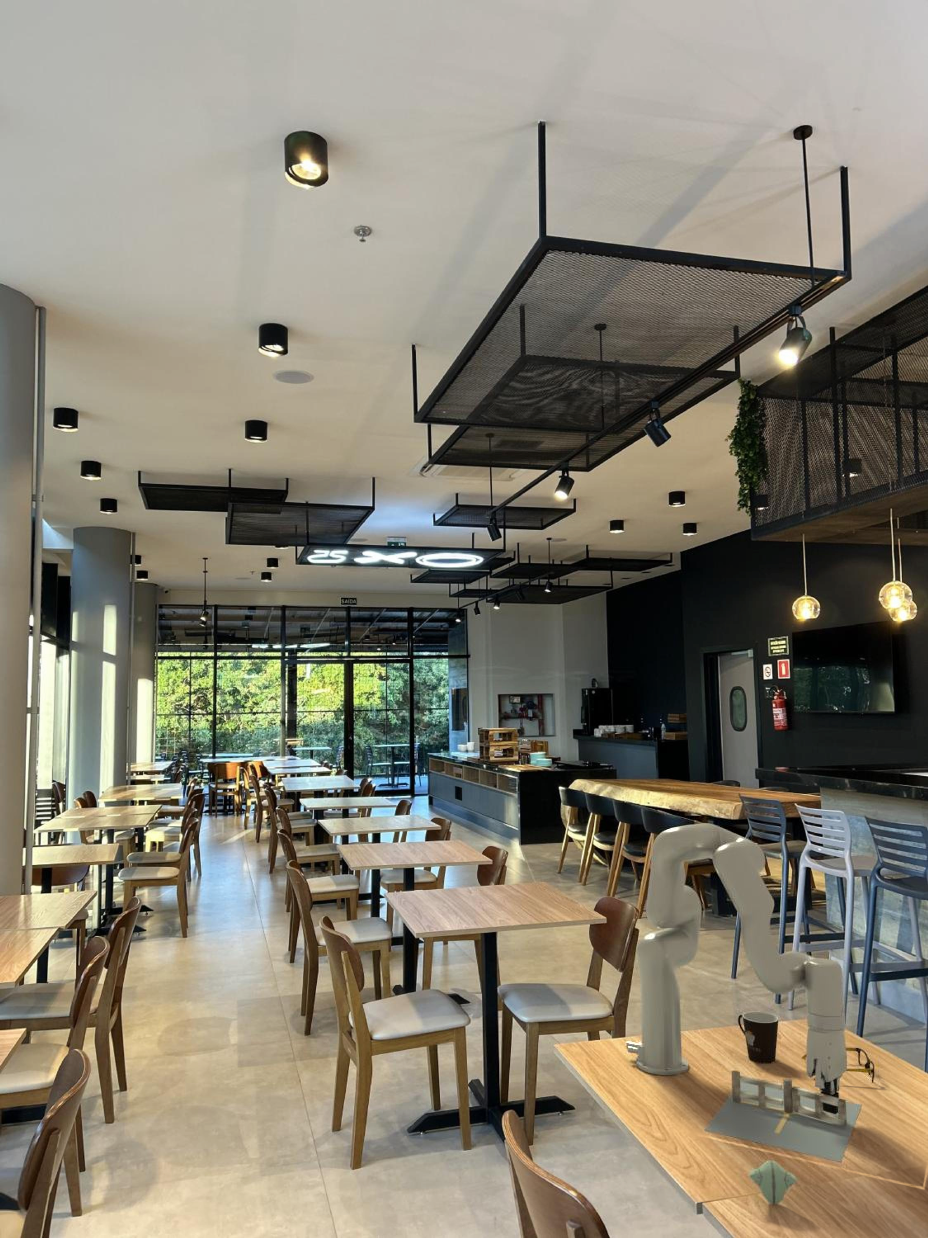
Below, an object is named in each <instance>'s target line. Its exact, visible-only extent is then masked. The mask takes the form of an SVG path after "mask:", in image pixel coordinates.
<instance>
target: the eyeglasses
mask: <svg viewBox="0 0 928 1238" xmlns="http://www.w3.org/2000/svg"><path fill="white" fill-rule="evenodd" d="M846 1052H857V1060H858V1065H860V1066H862V1063H861V1052H862V1053H863V1054H864V1055H865V1058H866V1062H865V1063H864V1068H847V1069H846V1071H845V1072H855V1073H865V1074H866V1073H867V1075H868V1076H869V1075H870V1076H871V1075H872V1076H871V1081H872V1082H871V1083H874V1079H875V1064H874V1062H873V1061H872V1060H871V1059H870V1058H869V1055H868V1054H867V1052H866V1051H865V1050H864V1049H862V1048H860V1047H849V1046H846ZM801 1059H805V1060H806V1053H805V1054H804V1055H803V1056H802V1057H801ZM871 1065H872V1068H871ZM813 1081H815V1077H814V1078H813Z"/></svg>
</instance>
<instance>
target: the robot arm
mask: <svg viewBox="0 0 928 1238" xmlns="http://www.w3.org/2000/svg"><path fill="white" fill-rule="evenodd" d="M650 859H651V862H650V873H649V881H648V889H647V897H646V909H645V910H646V912H645V913H646V917H647V920H648V922H649V923H650V924H651V925H652V926H654V927H655V928H657V929H659V930H657V931H653V932H650V933H647V934H646V935H644V936H643V937H641V939H640V940H639V941H638V943H637V945H636V949H635V957H636V958H635V959H636V964H637V968H638V975H639V984H640V985H639V986H640V1006H641V1008H640V1009H641V1010H640V1011H641V1012H640V1017H641V1042H639V1043H637V1042H635V1041H630V1040H628V1041H626V1049H627V1053H632V1054H636V1055H637V1057H636V1058H635V1064H636V1065H635V1066H637V1068H638V1069H640V1070H641V1071H644V1072H645V1073H649V1074H652V1075H658V1076H676V1075H679V1074H682V1073H685V1072H687V1071H688V1070H689V1061H688V1060H687V1059H686V1058H685V1057H683V1056H682V1054H683V1051H682V1048H683V1046H682V1017H681V1016H682V1015H681V1014H682V1010H681V992H680V991H681V990H680V985H679V981H678V979H677V976H676V973H675V970H677V969H679V968H682V967H685V966H687V965H689V964H691V962H692V961H693V960H694V959H695V958H696V956H697V952H698V947H699V939H700V931H701V921H702V903H701V900H700V897H699V895H698V893H697V892H696V891H695V890H694V889H693V888H692V887H690V886H689V885H686V884H685V882H686V870H685V866H684V863H685V862H686V863H687V862H693V861H694V862H695V861H700V860H704V859H711V860H712V863H713V866H714V869H715V871H716V873H717V875H718V877H719V879H720V881H721V883H722V884H723V887H724V889H725V891H726V893H727V894H728V896H729V898H730V901H731V902H732V904H733V906H734V908H735V910H736V911H737V913H738V915H739V918H740V931H741V933H740V934H741V936H742V937H741V938H742V944H743V949H744V952H745V955H746V957H747V960H748V961H749V963H750V966H751V968H752V969H753V971H754V974H756V977H757V979H758V980H759V982H760V983H761V984H762V986H763V987H764V988H766V989H767V991H769V992H770V993H772V994H775V995H785V994H786V995H787V994H788V993H790V992H793V991H795V990H798V989H802V988H805V1001H806V1019H807V1020H806V1021H807V1022H806V1023H807V1027H808V1028H807V1035H806V1036H807V1037H806V1052H805V1054H806V1058H805V1060H806V1061H805V1062H806V1064H805V1065H806V1067H805V1068H806V1075H807V1077H809V1078H813V1077H814V1076H815V1077H814V1078H815V1080H814V1087H816V1088H818V1089H819V1092H820V1093H822V1094H825V1095H829V1096H832V1097H836V1098H840V1093H839V1091H840V1080H841V1078H842V1076H843V1074H844V1073H845V1072H847V1071H846V1069H848V1058H847V1057H848V1056H847V1055H848V1054H847V1051H846V1047H847V1045H846V1044H847V1043H846V1037H845V1032H846V1017H845V1000H844V996H845V995H844V985H843V984H844V981H843V969H842V965H841V964H840V963H839V962H837V961H836V960H833V959H829V958H823V957H822V958H820V957H819V958H818V957H814V956H812V955H809V954H806V953H805V952H801V951H796V950H789V951H786V952H784V953H780V952H779V950H778V948H777V946H776V944H775V942H774V940H773V937H772V933H771V918H772V916H773V912H774V907H775V900H774V898H773V896H772V895H771V893H770V891H769V889H768V888H767V886H766V884H765V882H764V880H763V878H762V877H761V874H760V873H761V872H762V871H763V870H764V869H765V866H766V857H765V853H764V851H763V850H762V848H761V847H760V846H759V845H758V844H757V843H756V842H754V841H752V839H751V840H750V839H748V838H746V837H744V836H742V835H739V834H737V833H734V832H732V831H730V830H728V829H725V828H723V827H720V826H719V825H716V824H713V823H706V822H705V823H704V822H703V823H695V824H686V825H680V826H676V827H671V828H669V829H666V830H663V831H662V832H660V833H659V834H658V835H657V836H656V838H655V839H654V840H653V842H652V847H651V857H650ZM823 1111H826V1112H829V1113H832V1114H837V1113H838V1106H834V1105H831V1104H827V1103H824V1102H823Z"/></svg>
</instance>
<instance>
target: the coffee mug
mask: <svg viewBox="0 0 928 1238" xmlns="http://www.w3.org/2000/svg"><path fill="white" fill-rule="evenodd" d="M741 1019H742V1022H743V1026H742V1024H741ZM737 1023H738V1026H739V1029H740V1030H741V1032H742V1034H743V1035H744V1037H745V1042H746V1043H745V1044H746V1049H747V1055H748V1056H747V1057H748V1059H749V1060H750V1061H752V1062H754V1063H757V1064H763V1065H767V1064H774V1063H775V1062H776V1057H777V1056H776V1055H777V1044H778V1042H777V1041H778V1033H779V1032H778V1030H779V1029H778V1028H779V1017H778V1016H777V1015H775V1014H772V1013H769V1012H764V1011H747V1012H744V1013H742V1014H740V1015H739V1016H738V1017H737Z"/></svg>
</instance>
